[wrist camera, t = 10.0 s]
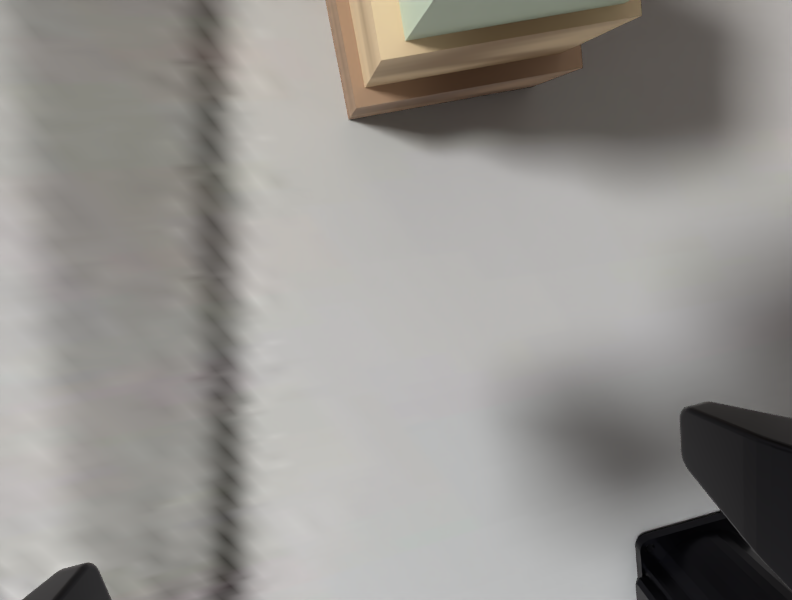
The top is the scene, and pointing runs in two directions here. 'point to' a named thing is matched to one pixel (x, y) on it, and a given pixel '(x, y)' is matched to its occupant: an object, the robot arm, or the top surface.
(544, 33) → the oak block
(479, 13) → the sage block
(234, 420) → the top surface
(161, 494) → the top surface
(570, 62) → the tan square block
